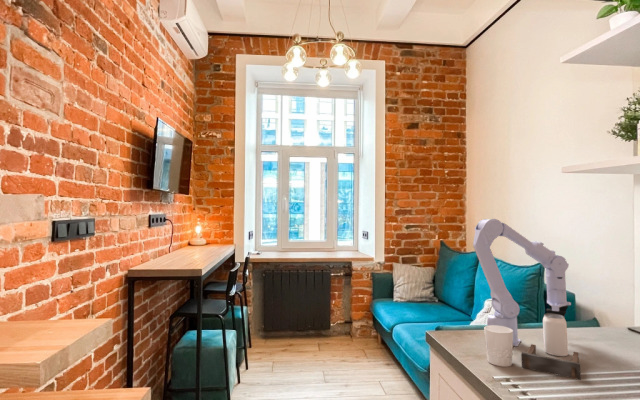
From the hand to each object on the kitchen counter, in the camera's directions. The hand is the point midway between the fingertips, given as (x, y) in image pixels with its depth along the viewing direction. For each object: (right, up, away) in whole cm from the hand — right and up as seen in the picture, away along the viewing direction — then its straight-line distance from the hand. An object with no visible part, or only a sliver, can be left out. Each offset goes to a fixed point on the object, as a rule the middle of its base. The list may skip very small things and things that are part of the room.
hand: (558, 328), depth 125 cm
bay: (-15, -4, -19) cm, 25 cm away
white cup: (-29, -5, -17) cm, 34 cm away
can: (-7, -5, -10) cm, 13 cm away
